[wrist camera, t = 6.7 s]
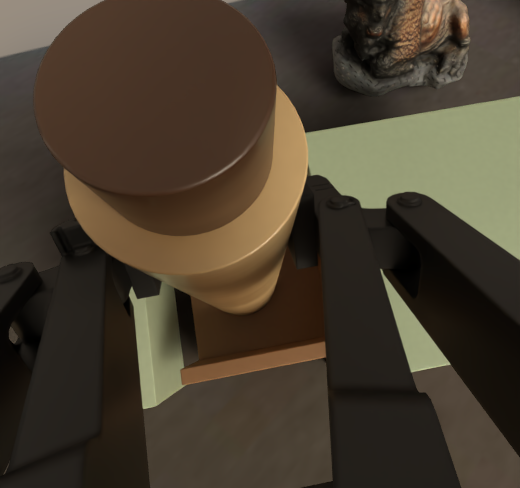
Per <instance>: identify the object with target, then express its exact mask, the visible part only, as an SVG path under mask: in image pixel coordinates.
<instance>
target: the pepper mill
mask: <svg viewBox="0 0 520 488" xmlns="http://www.w3.org/2000/svg"><path fill="white" fill-rule="evenodd" d="M33 105H34V115H35V119H36V122H37V126H38V130H39V132H40V135H41V137H42V139H43V141H44V143H45V145H46V147H47V148H48V150H49V151H50V153H51V154H52V156H53V157H54V158H55V159H56V160H57V161H58V162H59V164H60V165H61V166H62V167H63V168H64V181H65V189H66V193H67V197H68V200H69V204H70V206H71V208H72V211H73V213H74V215H75V217H76V219H77V221H78V222H79V224H80V225H81V227H82V228H83V230H84V231H85V233H86V234H87V235H88V236H89V237H90V238H91V239H92V240H93V242H94V243H95V244H97V245H98V246H99V247H100V248H101V249H103V250H104V251H105V252H106V253H108V254H109V255H111V256H112V257H114V258H116V259H117V260H119V261H120V262H122V263H125V264H127V265H129V266H131V267H133V268H135V269H137V270H139V271H141V272H143V273H145V274H147V275H149V276H151V277H153V278H156V279H158V280H160V281H162V282H164V283H166V284H168V285H170V286H172V287H174V288H176V289H178V290H180V291H182V292H185V293H187V294H189V295H191V296H193V297H195V298H197V299H199V300H201V301H203V302H205V303H207V304H209V305H211V306H213V307H216V308H218V309H220V310H222V311H224V312H226V313H228V314H231V315H235V316H247V315H251V314H254V313H256V312H258V311H260V310H261V309H262V308H264V307H265V306H266V305H267V304H268V302H269V301H270V299H271V298H272V295H273V293H274V290H275V286H276V283H277V279H278V276H279V272H280V269H281V265H282V262H283V259H284V255H285V252H286V248H287V245H288V241H289V238H290V234H291V231H292V227H293V224H294V221H295V217H296V214H297V210H298V207H299V203H300V200H301V196H302V193H303V189H304V185H305V182H306V178H307V170H308V145H307V140H306V134H305V131H304V128H303V125H302V122H301V119H300V117H299V115H298V113H297V111H296V109H295V107H294V106H293V104H292V103H291V101H290V100H289V98H288V97H287V96H286V95H285V93H284V92H283V91H282V90H281V89H280V88H279V87H278V86H277V78H276V72H275V65H274V62H273V59H272V56H271V53H270V50H269V48H268V46H267V44H266V42H265V40H264V39H263V37H262V36H261V34H260V33H259V31H258V30H257V28H256V27H255V26H254V25H253V24H252V23H251V22H250V21H249V20H248V18H247V17H245V16H244V15H243V14H242V13H240V12H239V11H238V10H237V9H235V8H234V7H232V6H231V5H229V4H227V3H226V2H224V1H222V0H104V1H102V2H100V3H98V4H96V5H94V6H93V7H91V8H89V9H87V10H86V11H85V12H83V13H82V14H80V15H79V16H78V17H76V18H75V19H74V20H73V21H72V22H70V23H69V24H68V25H67V26H66V27H65V28H64V29H63V30H62V31H61V32H60V34H59V35H58V36H57V37H56V38H55V39H54V41H53V42H52V44H51V45H50V47H49V48H48V50H47V52H46V53H45V55H44V57H43V59H42V61H41V64H40V66H39V69H38V72H37V75H36V80H35V85H34V94H33Z"/></svg>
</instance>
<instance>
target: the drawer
mask: <svg viewBox="0 0 520 488" xmlns="http://www.w3.org/2000/svg"><path fill="white" fill-rule="evenodd" d="M307 176H308V175H307ZM317 257H318V266H313V267H308V268H303V269H296V266H295V264H294V261H293V258H292V256H291V253H290V251H289V248H288V245H287V248H286V252H285V255H284V259H283V262H282V265H281V269H280V272H279V276H278V279H277V283H276V286H275V290H274V293H273V295H272V298H271V299H270V301H269V302H268V304H267V305H266V306H265V307H264V308H262V309H261V310H260V311H258V312H256V313H254V314H251V315H247V316H235V315H231V314H228V313H226V312H224V311H222V310H220V309H218V308H216V307H213V306H211V305H209V304H207V303H205V302H203V301H201V300H199V299H197V298H195V297H193V296H191V295H190V296H191V303H192V310H193V318H194V325H195V333H196V340H197V347H198V355H199V361H197V362H195V363H193V364H191V365H189V366H186V367H184V364H183V356H182V348H181V340H180V331H179V323H178V315H177V307H176V299H175V291H174V287H172V286H170V285H168V284H166V283H164V282H162V284H161V289H160V294H159V295H158V296H152V297H147V298H141V299H137V298H136V295H135V293H134V290H133V288H132V287H131V290H130V293H129V297H130V299H131V301H132V304H133V306H134V317H135V328H136V339H137V350H138V361H139V372H140V383H141V394H142V405H143V409H145V408H150V407H155V406H157V405H158V404H160V403H161V402H163V401H164V400H165V399H167V398H168V397H170V396H171V395H172V394H174V393H175V392H177V391H178V390H179V389H181V388H182V387H184V386H185V385H187V384H192V383H197V382H202V381H208V380H213V379H218V378H223V377H228V376H233V375H238V374H243V373H248V372H253V371H258V370H264V369H269V368H274V367H279V366H284V365H289V364H294V363H299V362H304V361H309V360H314V359H320V358H325V357H326V349H325V331H324V312H323V294H322V277H321V259H320V257H319V255H318V253H317Z"/></svg>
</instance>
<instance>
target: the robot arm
mask: <svg viewBox="0 0 520 488" xmlns="http://www.w3.org/2000/svg"><path fill="white" fill-rule="evenodd" d="M50 234H51V236H52V238H53V240H54V242H55V244H56V246H57V248H58V249H59V251H60V253H61V255H62V257H61V261H60V265H59V266H57V267H54V268H51V269H48V270H45V271H42V272H39V273H38V272H37V270H36V268H35V267H34V265H33V263H30V262H20V263H16V264H9V265H7V266H4V267H2V268H0V488H150V483H149V472H148V461H147V450H146V439H145V427H144V416H143V405H142V394H141V383H140V372H139V361H138V350H137V339H136V328H135V317H134V306H133V304H132V301H131V299H130V297H129V293H130V290H131V287H132V288H133V290H134V293H135V295H136V298H137V299H141V298H147V297H152V296H158V295H159V294H160V289H161V284H162V281H160V280H158V279H156V278H153V277H151V276H149V275H147V274H145V273H143V272H141V271H139V270H137V269H135V268H133V267H131V266H129V265H127V264H125V263H122V262H120V261H119V260H117V259H116V258H114V257H112V256H111V255H109V254H108V253H106V252H105V251H104V250H103V249H101V248H100V247H99V246H98V245H97V244H95V243H94V242H93V240H92V239H91V238H90V237H89V236H88V235H87V234H86V233H85V231H84V230H83V228H82V227H81V225H80V224H79V222H78V221H77V219H76V218H74V219H71V220H68V221H65V222H63V223H61V224H59V225H57V226H56V227H55V228H53V229H52V230H51V232H50ZM288 248H289V251H290V253H291V256H292V258H293V261H294V264H295V266H296V269H303V268H308V267H313V266H318V257H317V253H318V255H319V257H320V259H321V277H322V294H323V312H324V331H325V349H326V367H327V385H328V403H329V421H330V439H331V457H332V475H333V481H331V482H326V483H322V484H317V485H312V486H307V487H303V488H461V486H460V483H459V480H458V477H457V474H456V471H455V468H454V465H453V462H452V459H451V456H450V453H449V450H448V447H447V444H446V441H445V438H444V435H443V432H442V429H441V426H440V423H439V420H438V417H437V414H436V411H435V409H434V406H433V404H432V402H431V399H430V398H429V396H428V395H427V394H426V393H419V392H418V390H417V388H416V386H415V383H414V380H413V376H412V373H411V370H410V367H409V363H408V360H407V357H406V353H405V350H404V347H403V343H402V340H401V337H400V333H399V330H398V327H397V323H396V320H395V317H394V313H393V310H392V307H391V304H390V300H389V297H388V294H387V290H386V287H385V284H384V280H383V277H382V274H381V270H380V269H382V271H383V274H384V275H385V277H386V278H387V279H388V281H389V282H390V284H391V285H392V286H393V288H394V289H395V290H396V292H397V293H398V294H399V296H400V297H401V298H402V300H403V301H404V302H405V304H406V305H407V306H408V308H409V309H410V310H411V312H412V313H413V314H414V316H415V317H416V318H417V320H418V321H419V322H420V324H421V325H422V327H423V328H424V329H425V331H426V332H427V333H428V335H429V336H430V337H431V339H432V340H433V341H434V343H435V344H436V345H437V347H438V348H439V349H440V351H441V352H442V353H443V355H444V356H445V357H446V359H447V360H448V361H449V363H450V364H451V365H452V367H453V368H454V370H455V371H456V372H457V374H458V375H459V376H460V378H461V379H462V380H463V382H464V383H465V384H466V386H467V387H468V388H469V390H470V391H471V392H472V394H473V395H474V396H475V398H476V399H477V400H478V402H479V403H480V404H481V406H482V407H483V409H484V410H485V411H486V413H487V414H488V415H489V417H490V418H491V419H492V421H493V422H494V423H495V425H496V426H497V427H498V429H499V430H500V431H501V433H502V434H503V435H504V437H505V438H506V439H507V441H508V442H509V443H510V445H511V446H512V447H513V449H514V450H515V452H516V453H517V454H518V456H519V457H520V260H519V259H517V258H516V257H515V256H513V255H512V254H510V253H509V252H507V251H506V250H505V249H503V248H502V247H500V246H499V245H497V244H496V243H495V242H493V241H492V240H490V239H489V238H488V237H486V236H485V235H483V234H482V233H480V232H479V231H478V230H476V229H475V228H473V227H472V226H470V225H469V224H468V223H466V222H465V221H463V220H462V219H460V218H459V217H458V216H456V215H455V214H453V213H452V212H450V211H449V210H448V209H446V208H445V207H443V206H442V205H441V204H439V203H438V202H436V201H435V200H433V199H432V198H431V197H428V196H426V195H424V194H420V193H417V192H404V193H398V194H394V195H391V196H390V197H388V198H387V201H386V208H374V209H371V208H362V207H361V204H360V202H359V200H358V199H357V198H354V197H352V196H347V195H341V194H340V193H339V192H338V191H337V189H336V188H334V186H333V185H332V184H331V182H330V181H329V180H328V179H327V178H326V177H323V176H320V175H312V176H307V178H306V182H305V185H304V189H303V193H302V196H301V200H300V203H299V207H298V210H297V214H296V217H295V221H294V224H293V227H292V231H291V234H290V238H289V241H288ZM10 326H11V327H12V328H13V330H14V331H15V332H16V334H17V335H18V337H19V338H18V339H17V341H16V343H15V344H13V343H12V342H11V341H10V339H9V329H10ZM9 461H10V463H9ZM8 463H9V466H8V468H7V471H6V473H5V474H4V472H5V470H6V467H7V465H8ZM3 474H4V475H3Z"/></svg>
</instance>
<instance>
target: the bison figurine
mask: <svg viewBox="0 0 520 488" xmlns="http://www.w3.org/2000/svg"><path fill="white" fill-rule="evenodd" d="M344 2H345V3H347V8H346V14H345V17H344V24H345V26H346V28H344V30H343V31H342V35H339V36H337V37H335V38H334V39H333V43H332V54H333V63H334V74H335V77H336V79H337V80H338V81H339V83H341V84H342V85H343V86H345V87H347V88H348V89H350V90H354V91H357V92H359V93H362V94H364V95H368V96H381V95H383V94H385V93H387V92H389V91H392V90H395V89H398V88H400V87H404V86H419V85H425V86H430V87H434V88H436V89H438V88H441V87H443V86H445V85H447V84H449V83H452V82H455V81H458V80H459V79H460V78H461V77H462V76H463V72H464V70H465V68H466V64H467V60H468V59H467V56H468V50H469V43H470V41H471V40H470V38H469V36H468V31H469V17H468V10H467V7H466V5H465V4H464V3H463V2H461V1H460V0H344Z"/></svg>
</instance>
